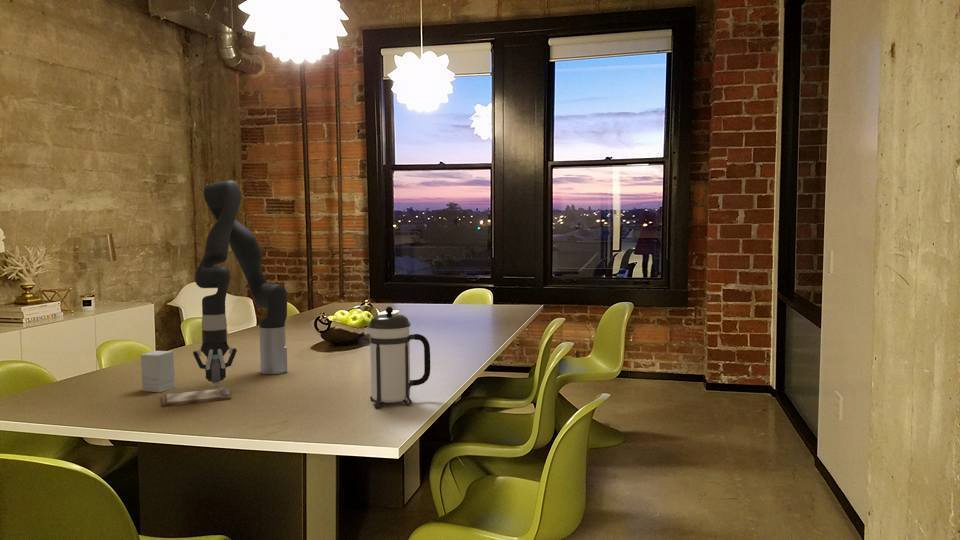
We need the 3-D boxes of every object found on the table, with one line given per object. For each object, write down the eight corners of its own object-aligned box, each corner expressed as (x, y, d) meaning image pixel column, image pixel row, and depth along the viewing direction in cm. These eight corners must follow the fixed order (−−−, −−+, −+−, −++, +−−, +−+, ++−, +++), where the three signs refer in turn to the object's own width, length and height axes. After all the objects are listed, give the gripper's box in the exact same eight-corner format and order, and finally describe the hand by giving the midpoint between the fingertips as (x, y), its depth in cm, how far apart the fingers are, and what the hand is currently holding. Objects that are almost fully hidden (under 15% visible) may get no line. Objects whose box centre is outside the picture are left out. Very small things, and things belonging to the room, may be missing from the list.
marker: (221, 383, 224) (220, 352, 223) (222, 386, 220) (221, 354, 220) (209, 385, 222) (208, 353, 221) (210, 387, 219) (209, 355, 218)
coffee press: (397, 412, 199) (395, 311, 197) (356, 405, 207) (354, 307, 205) (432, 399, 214) (430, 304, 212) (392, 392, 222) (390, 301, 220)
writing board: (227, 390, 228) (227, 385, 227) (231, 399, 216) (231, 394, 216) (162, 397, 219) (161, 392, 219) (161, 406, 207) (161, 402, 207)
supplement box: (175, 387, 232) (174, 351, 231) (159, 392, 225) (157, 355, 224) (158, 386, 234) (157, 350, 233) (141, 391, 227) (140, 354, 226)
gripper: (236, 325, 226) (237, 376, 227) (190, 327, 221) (192, 380, 222) (238, 327, 220) (239, 380, 221) (191, 330, 214) (192, 384, 215)
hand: (215, 379), depth 221 cm, fingers closed on marker, 3 cm apart
